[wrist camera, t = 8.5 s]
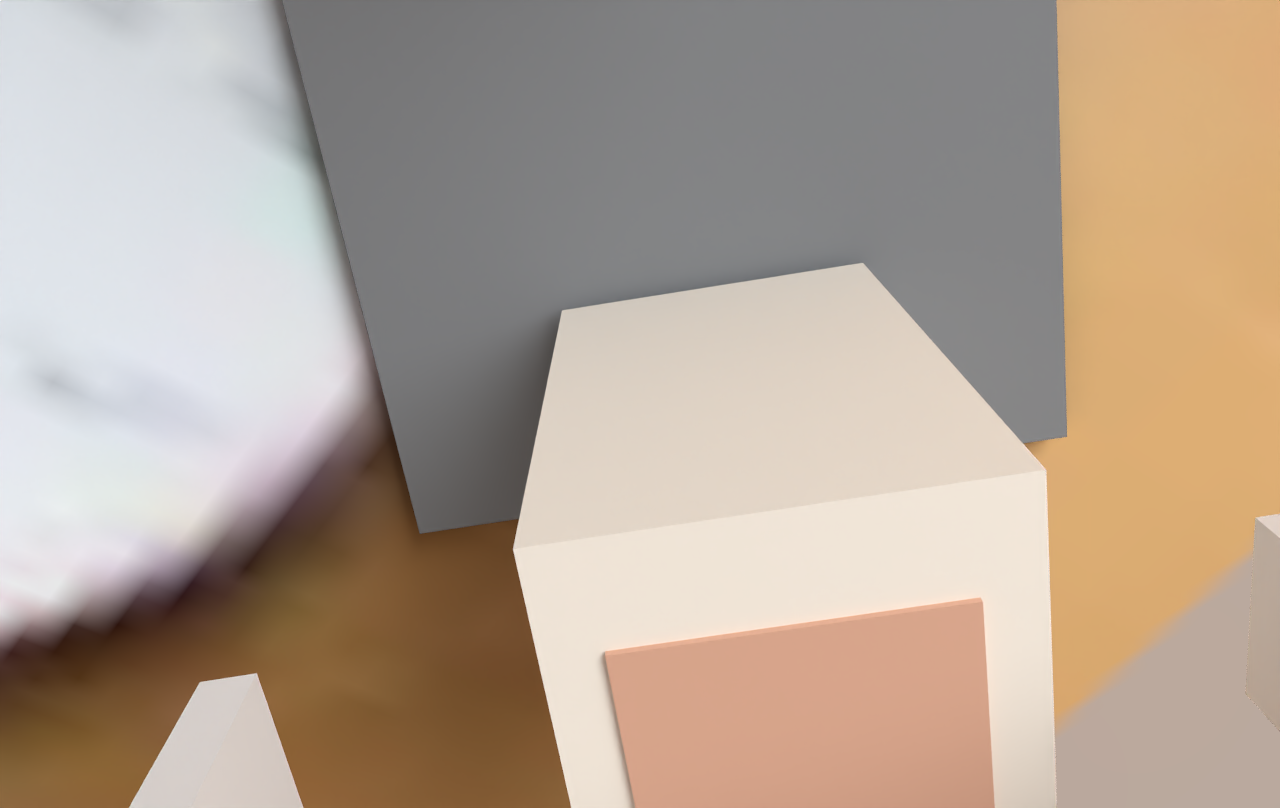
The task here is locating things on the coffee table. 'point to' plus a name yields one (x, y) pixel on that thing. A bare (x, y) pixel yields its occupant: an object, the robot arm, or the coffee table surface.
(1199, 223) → the coffee table surface
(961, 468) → the box with pink panel
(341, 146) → the mat
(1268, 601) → the robot arm
